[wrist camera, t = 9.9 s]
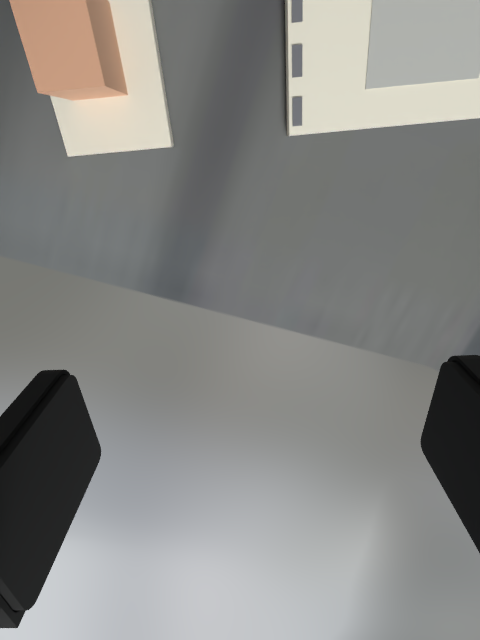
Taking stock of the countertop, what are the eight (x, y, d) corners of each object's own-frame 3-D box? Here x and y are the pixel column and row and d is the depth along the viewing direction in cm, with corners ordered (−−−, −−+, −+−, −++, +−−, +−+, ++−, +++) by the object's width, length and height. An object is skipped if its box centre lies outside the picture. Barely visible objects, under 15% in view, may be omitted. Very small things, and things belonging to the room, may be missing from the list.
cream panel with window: (545, -112, 21) (563, -127, 20) (492, 116, 26) (503, 115, 25) (283, -84, 21) (286, -97, 20) (287, 135, 27) (289, 135, 26)
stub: (140, -69, 21) (108, -141, 16) (174, 146, 27) (159, 149, 21) (14, -56, 21) (-61, -122, 16) (74, 155, 27) (34, 160, 22)
